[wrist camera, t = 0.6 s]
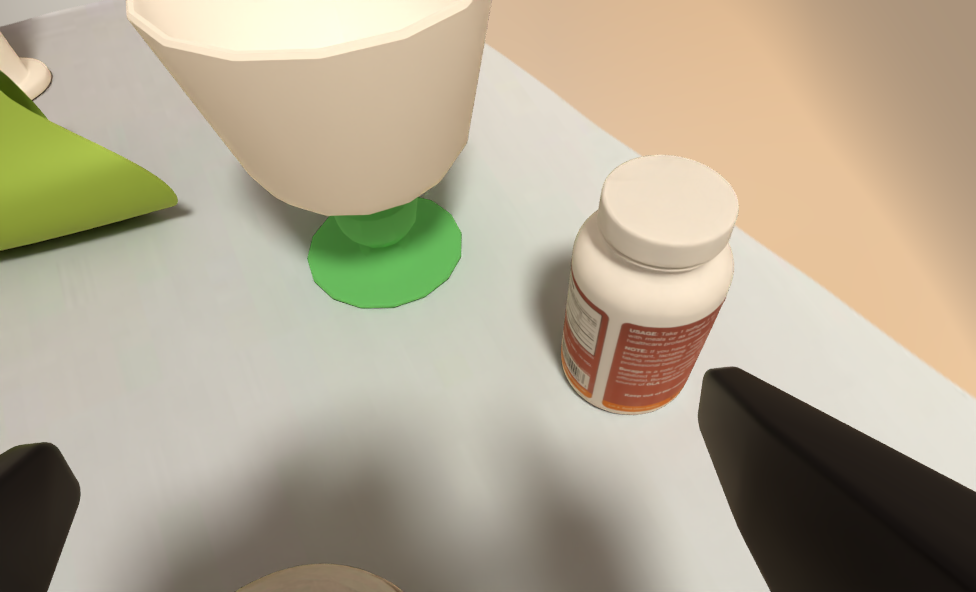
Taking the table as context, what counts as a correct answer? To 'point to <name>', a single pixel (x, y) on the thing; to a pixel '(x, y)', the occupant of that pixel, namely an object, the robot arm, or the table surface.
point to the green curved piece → (63, 178)
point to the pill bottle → (647, 282)
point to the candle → (23, 70)
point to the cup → (338, 120)
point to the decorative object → (320, 580)
